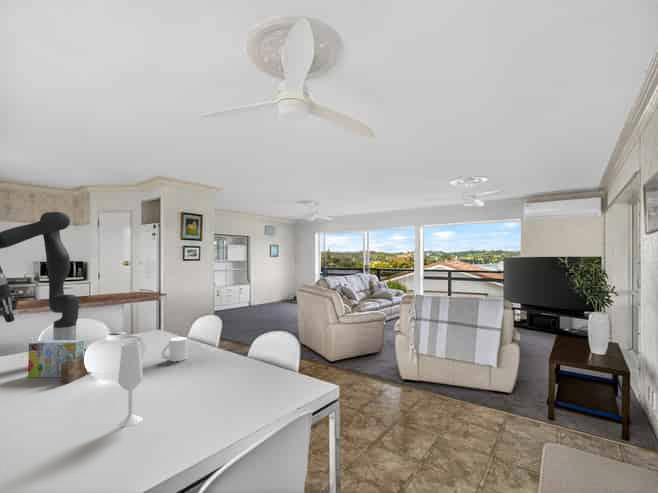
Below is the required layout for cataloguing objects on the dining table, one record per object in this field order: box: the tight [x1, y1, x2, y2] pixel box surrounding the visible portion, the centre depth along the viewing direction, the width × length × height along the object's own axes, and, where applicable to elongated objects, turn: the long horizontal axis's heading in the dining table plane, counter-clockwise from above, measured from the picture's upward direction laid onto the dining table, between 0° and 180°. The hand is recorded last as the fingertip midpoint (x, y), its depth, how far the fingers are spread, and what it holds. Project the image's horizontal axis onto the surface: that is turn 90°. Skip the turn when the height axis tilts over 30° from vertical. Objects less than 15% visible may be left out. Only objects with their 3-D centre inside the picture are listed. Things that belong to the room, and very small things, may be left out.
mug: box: [161, 336, 188, 363], centre depth 171 cm, size 8×10×12 cm
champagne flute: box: [117, 341, 144, 428], centre depth 107 cm, size 7×7×24 cm
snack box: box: [27, 339, 85, 378], centre depth 151 cm, size 21×6×15 cm, turn 89°
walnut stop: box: [60, 347, 90, 385], centre depth 148 cm, size 15×3×11 cm, turn 179°
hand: (10, 321), depth 150 cm, fingers closed
